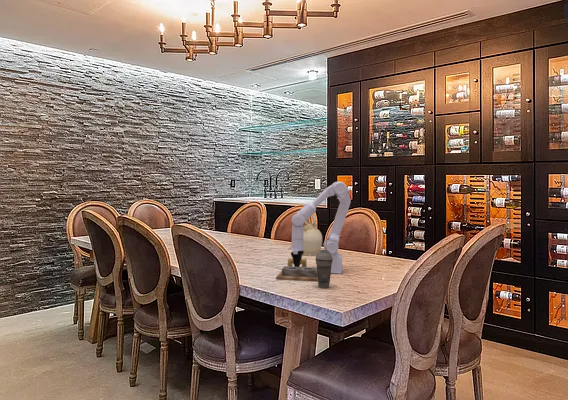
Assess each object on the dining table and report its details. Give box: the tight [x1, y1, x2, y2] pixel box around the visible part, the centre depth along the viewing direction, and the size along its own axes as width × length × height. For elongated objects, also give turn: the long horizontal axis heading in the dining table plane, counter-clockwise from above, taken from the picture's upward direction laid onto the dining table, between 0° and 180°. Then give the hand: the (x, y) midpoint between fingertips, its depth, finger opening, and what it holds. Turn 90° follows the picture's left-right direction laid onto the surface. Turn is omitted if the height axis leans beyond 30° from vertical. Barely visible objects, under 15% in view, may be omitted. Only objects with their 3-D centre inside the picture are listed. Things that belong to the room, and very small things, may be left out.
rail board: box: [275, 265, 318, 282], centre depth 196 cm, size 20×14×4 cm
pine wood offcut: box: [287, 257, 308, 267], centre depth 209 cm, size 9×3×6 cm, turn 80°
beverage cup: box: [314, 238, 333, 289], centre depth 178 cm, size 7×7×20 cm
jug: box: [301, 213, 323, 256], centre depth 260 cm, size 15×16×25 cm
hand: (297, 266), depth 209 cm, fingers closed on pine wood offcut, 3 cm apart
